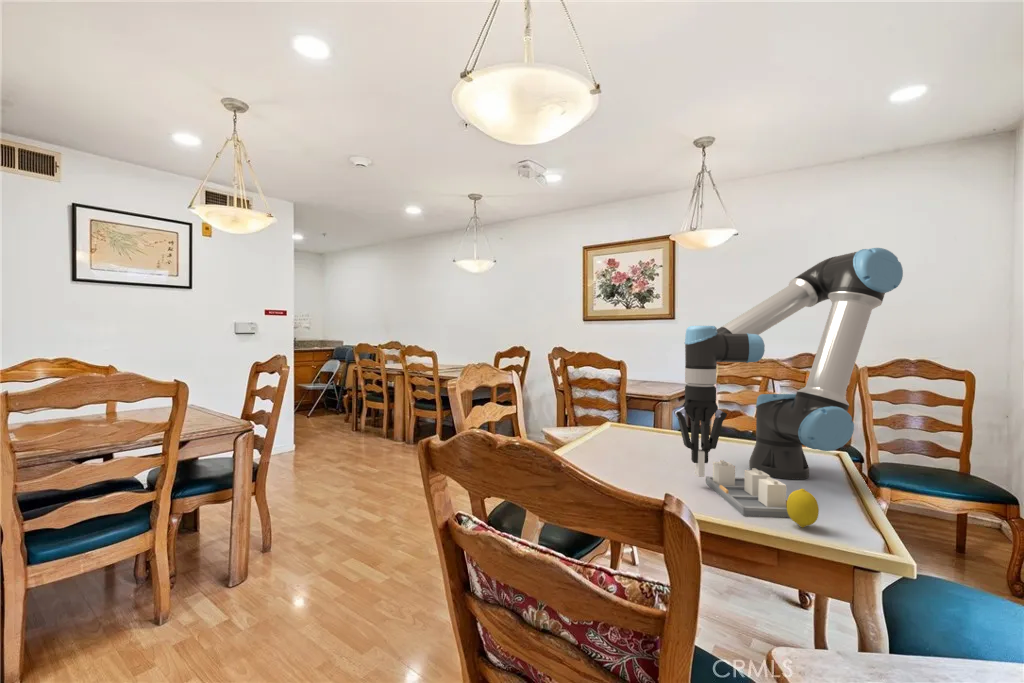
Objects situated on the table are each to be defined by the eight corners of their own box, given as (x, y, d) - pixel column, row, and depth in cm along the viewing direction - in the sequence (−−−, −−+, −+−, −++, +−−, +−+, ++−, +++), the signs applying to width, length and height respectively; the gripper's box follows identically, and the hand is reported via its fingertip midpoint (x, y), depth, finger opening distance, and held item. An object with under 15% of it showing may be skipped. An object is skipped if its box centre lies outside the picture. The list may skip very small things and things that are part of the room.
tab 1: (728, 480, 115) (728, 459, 115) (734, 486, 111) (735, 464, 111) (712, 480, 116) (712, 459, 116) (718, 485, 112) (719, 463, 112)
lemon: (808, 535, 86) (809, 495, 86) (780, 524, 91) (781, 486, 91) (824, 530, 89) (824, 490, 89) (796, 520, 94) (796, 482, 94)
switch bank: (748, 484, 117) (748, 475, 117) (795, 517, 95) (795, 506, 95) (705, 483, 118) (706, 473, 118) (743, 515, 96) (743, 504, 96)
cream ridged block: (761, 490, 108) (761, 468, 108) (769, 496, 104) (769, 473, 104) (744, 490, 108) (744, 467, 108) (752, 495, 104) (752, 472, 104)
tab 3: (776, 501, 101) (776, 476, 101) (785, 507, 97) (786, 482, 97) (758, 500, 101) (758, 476, 101) (767, 507, 97) (767, 481, 97)
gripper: (720, 383, 117) (719, 471, 117) (670, 383, 118) (669, 470, 118) (732, 386, 110) (731, 480, 110) (679, 386, 111) (678, 479, 111)
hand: (699, 475), depth 114 cm, fingers closed
